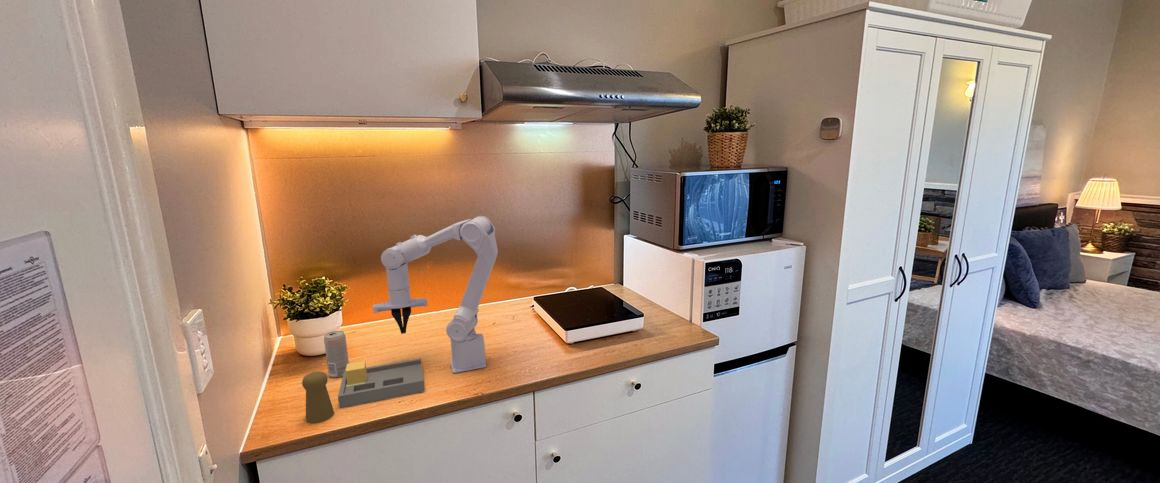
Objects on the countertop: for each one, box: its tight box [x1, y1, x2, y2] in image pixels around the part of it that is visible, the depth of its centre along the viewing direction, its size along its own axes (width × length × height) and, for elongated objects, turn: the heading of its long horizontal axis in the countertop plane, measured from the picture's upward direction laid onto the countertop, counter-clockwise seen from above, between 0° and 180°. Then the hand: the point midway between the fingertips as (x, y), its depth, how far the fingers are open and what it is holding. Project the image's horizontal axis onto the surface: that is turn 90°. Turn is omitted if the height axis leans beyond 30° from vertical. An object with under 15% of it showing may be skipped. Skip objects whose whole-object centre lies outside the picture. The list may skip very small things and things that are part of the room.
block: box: [345, 360, 367, 385], centre depth 124 cm, size 4×4×4 cm
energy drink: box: [323, 330, 350, 379], centre depth 131 cm, size 5×5×12 cm
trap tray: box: [337, 357, 425, 409], centre depth 125 cm, size 20×14×3 cm
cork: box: [301, 370, 335, 425], centre depth 111 cm, size 6×6×11 cm
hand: (403, 332), depth 136 cm, fingers closed
